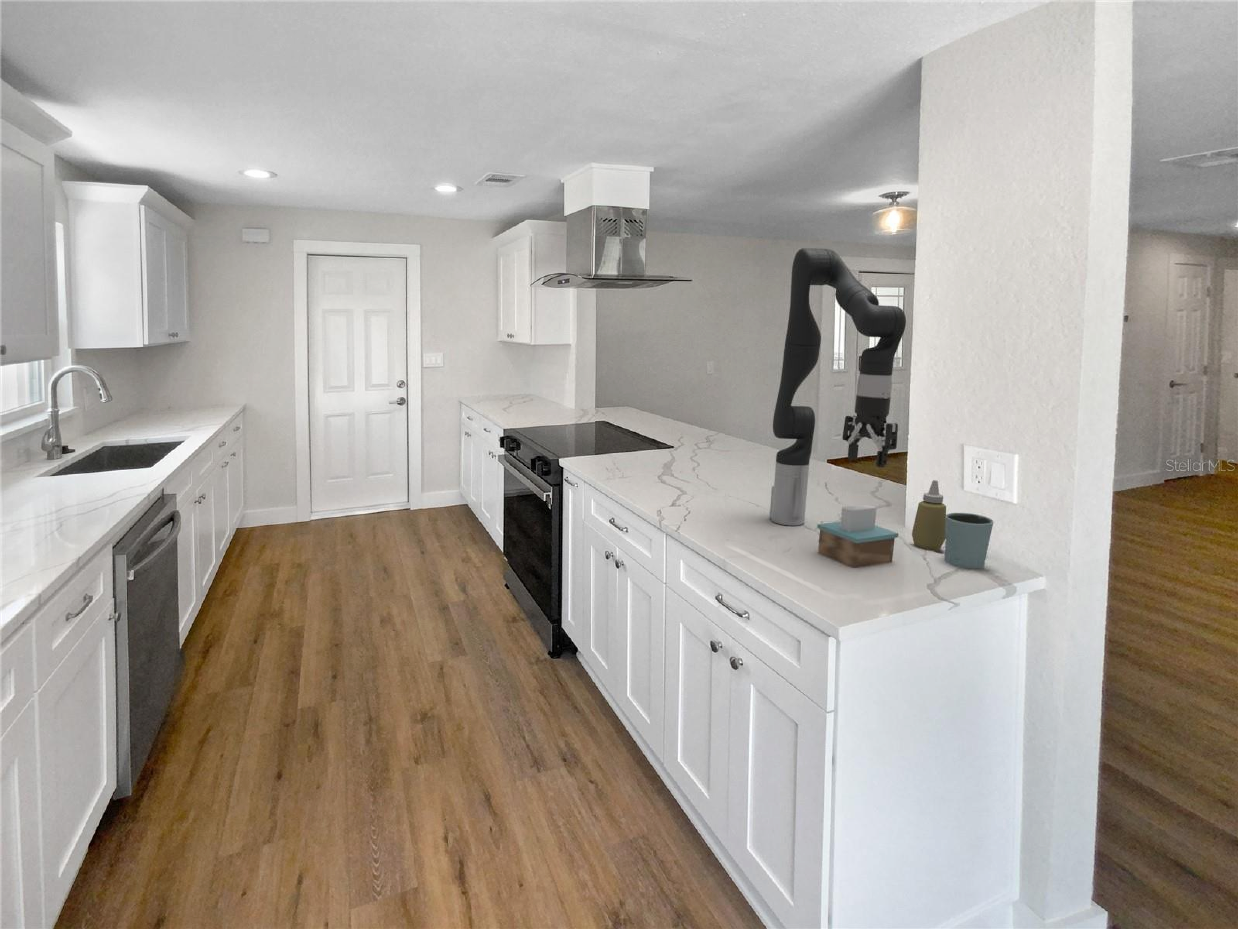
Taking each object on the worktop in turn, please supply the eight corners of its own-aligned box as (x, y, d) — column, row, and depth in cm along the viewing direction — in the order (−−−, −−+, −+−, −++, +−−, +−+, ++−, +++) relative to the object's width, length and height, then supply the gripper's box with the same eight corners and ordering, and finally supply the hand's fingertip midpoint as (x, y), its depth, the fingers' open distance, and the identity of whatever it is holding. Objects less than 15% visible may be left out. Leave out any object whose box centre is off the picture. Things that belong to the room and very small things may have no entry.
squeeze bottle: (941, 546, 186) (949, 479, 183) (946, 555, 179) (955, 485, 175) (908, 543, 188) (916, 476, 185) (911, 552, 181) (919, 482, 177)
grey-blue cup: (992, 567, 171) (999, 518, 169) (979, 577, 164) (986, 526, 162) (948, 557, 178) (953, 510, 176) (933, 566, 170) (939, 517, 168)
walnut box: (817, 556, 175) (820, 528, 174) (854, 550, 180) (857, 523, 179) (853, 571, 164) (856, 542, 163) (891, 565, 170) (894, 537, 168)
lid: (816, 531, 174) (819, 503, 173) (856, 526, 180) (859, 499, 178) (856, 546, 163) (859, 516, 161) (897, 540, 168) (900, 511, 167)
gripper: (838, 391, 169) (832, 458, 172) (886, 398, 157) (878, 470, 160) (862, 390, 173) (855, 457, 176) (910, 397, 160) (902, 468, 164)
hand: (866, 463), depth 168 cm, fingers open, 8 cm apart
